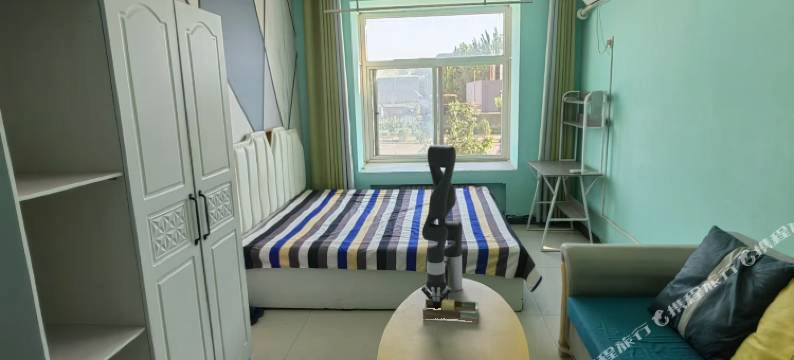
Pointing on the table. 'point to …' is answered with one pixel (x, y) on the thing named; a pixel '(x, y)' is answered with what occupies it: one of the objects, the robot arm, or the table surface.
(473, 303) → the channel
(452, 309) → the ochre block
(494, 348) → the table surface
